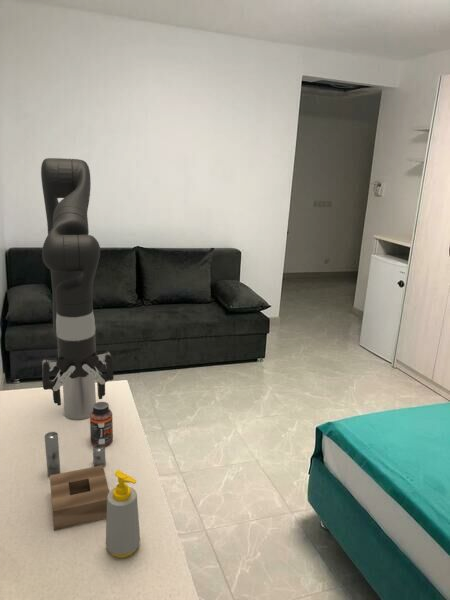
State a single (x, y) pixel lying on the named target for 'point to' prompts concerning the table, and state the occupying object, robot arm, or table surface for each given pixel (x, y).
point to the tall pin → (52, 453)
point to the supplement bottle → (101, 424)
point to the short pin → (99, 455)
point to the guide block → (79, 497)
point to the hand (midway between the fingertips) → (79, 400)
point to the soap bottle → (122, 518)
